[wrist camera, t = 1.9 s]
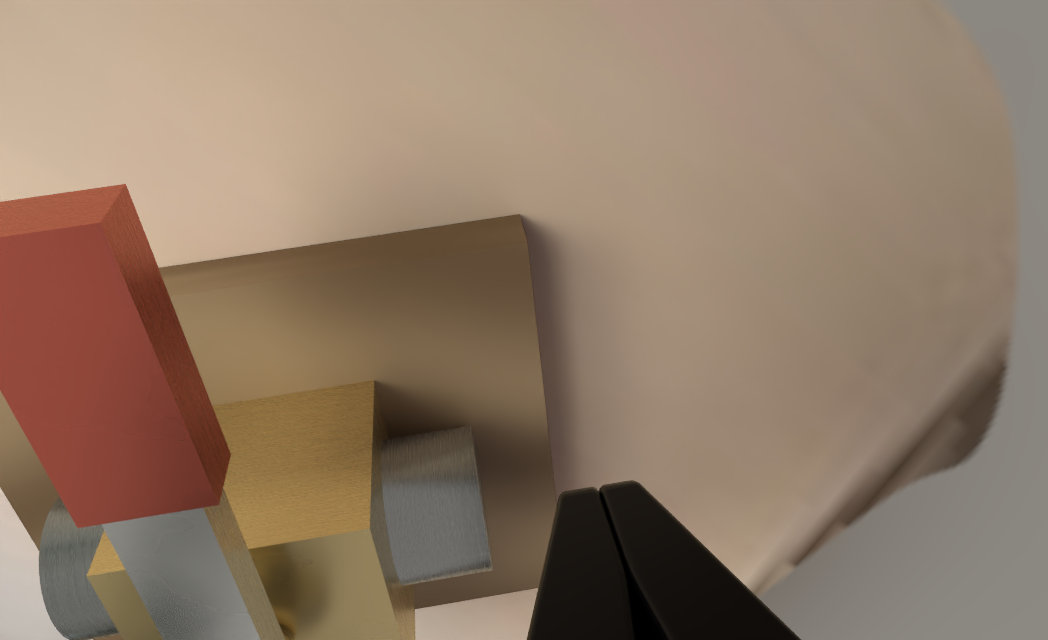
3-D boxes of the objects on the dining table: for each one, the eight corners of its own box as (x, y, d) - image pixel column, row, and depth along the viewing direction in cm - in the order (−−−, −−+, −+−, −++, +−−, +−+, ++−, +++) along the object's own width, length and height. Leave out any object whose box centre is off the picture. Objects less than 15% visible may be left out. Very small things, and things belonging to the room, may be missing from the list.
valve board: (557, 546, 27) (564, 583, 26) (120, 620, 27) (107, 662, 25) (519, 214, 21) (527, 242, 20) (-62, 301, 20) (-92, 336, 19)
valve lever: (337, 701, 18) (334, 755, 17) (217, 723, 18) (206, 778, 17) (140, 181, 12) (117, 220, 11) (-54, 209, 11) (-97, 251, 10)
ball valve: (488, 521, 24) (511, 703, 20) (137, 581, 24) (73, 782, 19) (461, 366, 21) (481, 536, 16) (56, 430, 21) (-43, 625, 16)
